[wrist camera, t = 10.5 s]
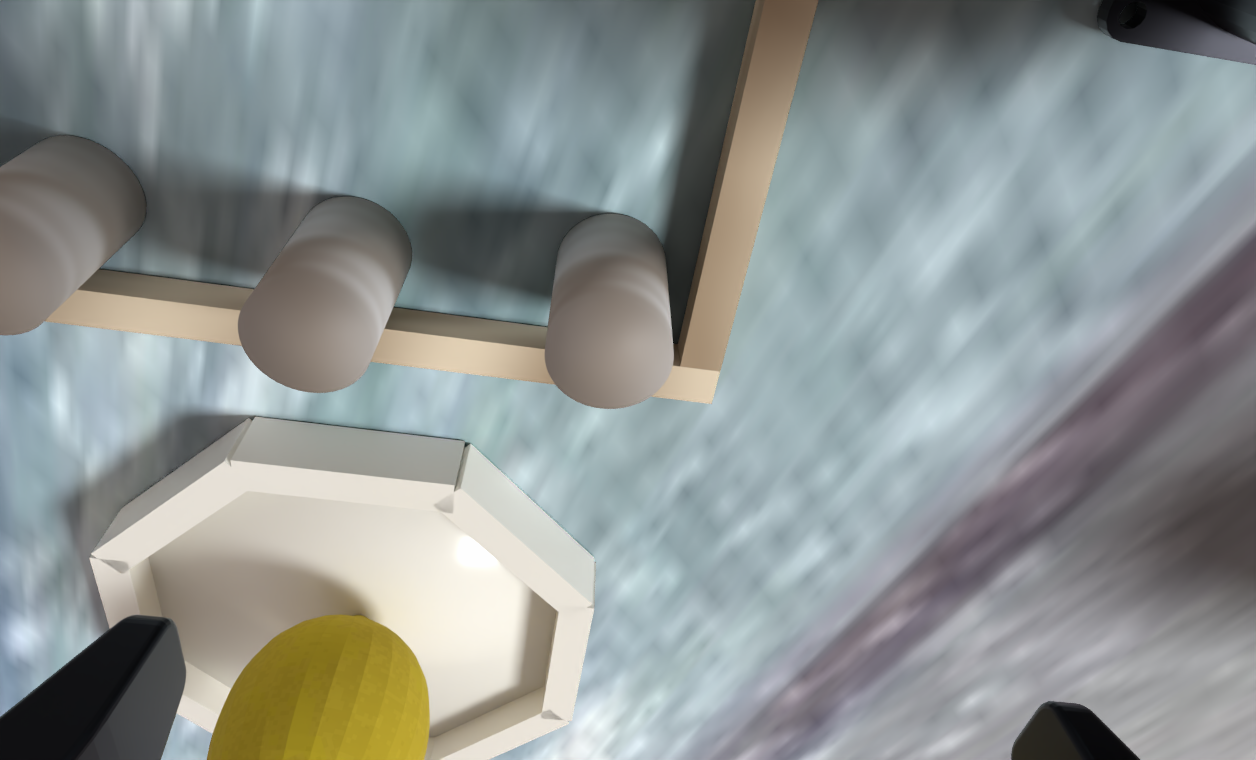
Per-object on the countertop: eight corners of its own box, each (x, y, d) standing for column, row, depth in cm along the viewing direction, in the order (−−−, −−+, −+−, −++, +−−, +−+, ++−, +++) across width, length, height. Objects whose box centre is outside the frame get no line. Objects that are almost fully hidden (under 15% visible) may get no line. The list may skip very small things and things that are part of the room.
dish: (615, 458, 24) (615, 503, 23) (560, 743, 32) (557, 790, 31) (91, 397, 23) (55, 440, 21) (169, 710, 31) (146, 757, 29)
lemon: (484, 644, 28) (440, 916, 21) (343, 691, 29) (261, 960, 23) (380, 533, 25) (292, 809, 18) (230, 592, 26) (98, 867, 20)
